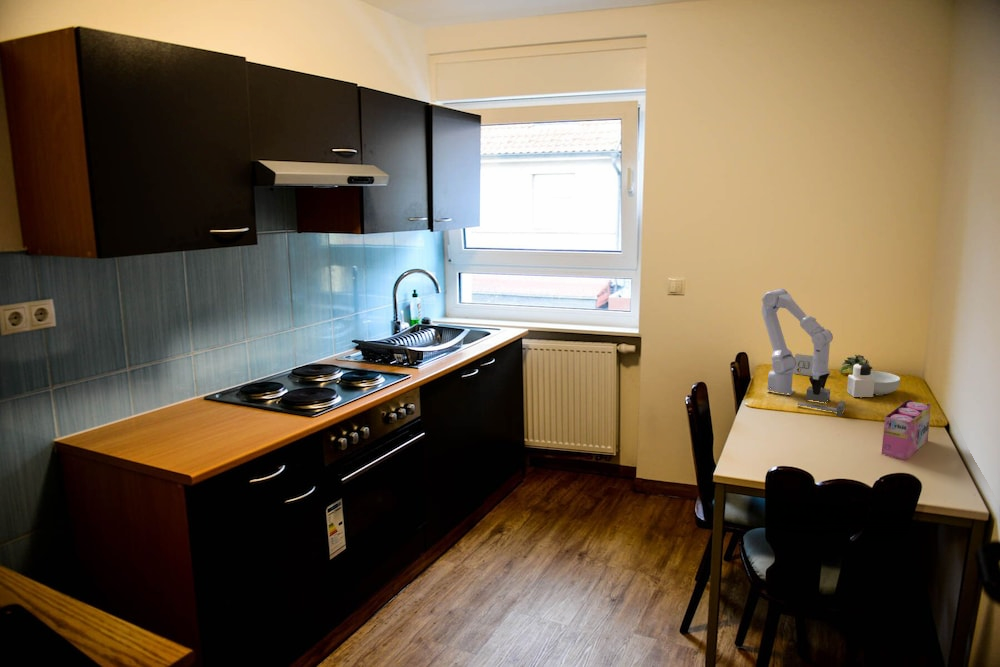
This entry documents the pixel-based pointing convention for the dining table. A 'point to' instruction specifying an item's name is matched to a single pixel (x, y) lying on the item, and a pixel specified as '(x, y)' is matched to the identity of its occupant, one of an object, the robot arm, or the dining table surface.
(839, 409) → the rail
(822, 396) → the block
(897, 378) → the cereal bowl
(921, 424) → the gum box
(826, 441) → the dining table surface
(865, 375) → the container
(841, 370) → the potted plant
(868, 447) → the dining table surface
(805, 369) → the electrical switch
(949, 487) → the dining table surface
